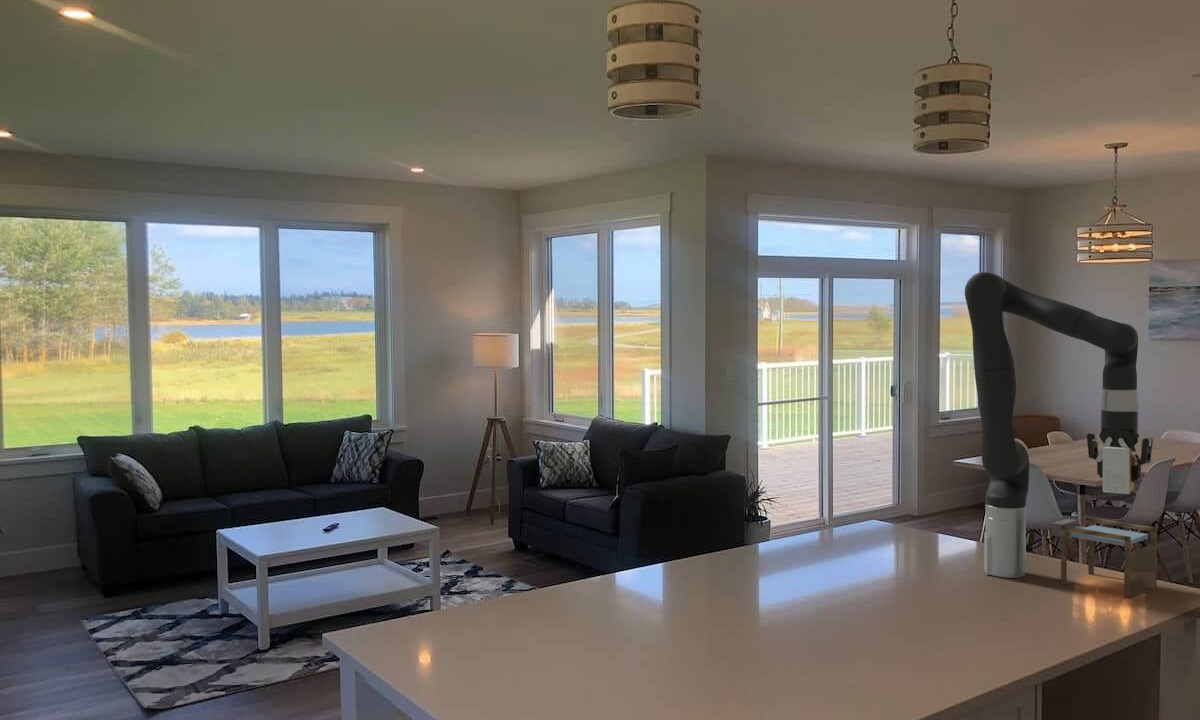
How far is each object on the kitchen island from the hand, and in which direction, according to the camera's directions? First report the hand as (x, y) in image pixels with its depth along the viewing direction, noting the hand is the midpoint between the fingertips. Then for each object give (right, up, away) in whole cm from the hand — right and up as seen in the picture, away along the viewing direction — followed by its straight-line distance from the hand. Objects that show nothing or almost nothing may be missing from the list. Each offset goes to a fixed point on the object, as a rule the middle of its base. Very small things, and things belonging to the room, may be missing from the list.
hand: (1118, 479), depth 215 cm
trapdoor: (-3, -15, +5) cm, 16 cm away
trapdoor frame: (-1, -26, +3) cm, 26 cm away
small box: (0, -3, 0) cm, 3 cm away
